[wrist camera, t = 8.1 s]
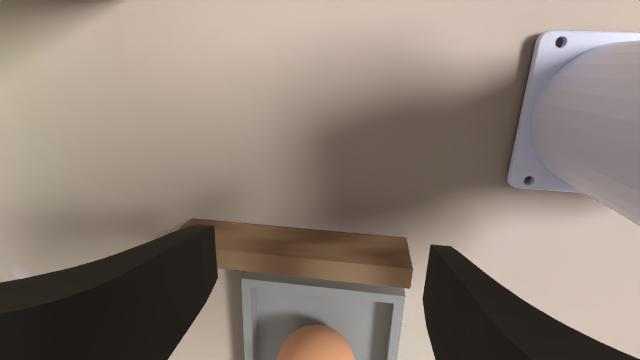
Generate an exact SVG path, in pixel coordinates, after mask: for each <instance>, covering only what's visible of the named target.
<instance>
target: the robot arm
mask: <svg viewBox="0 0 640 360" xmlns="http://www.w3.org/2000/svg"><path fill="white" fill-rule="evenodd" d="M559 37H561V38H562V39H563V44H562V46H560V47H559V48H558V47H557V46H556V45H555V41H556V39H557V38H559ZM527 176H531V180H530V181H529V182H528V183H524V179H525V178H526V177H527ZM507 181H508V183H509V184H510V185H511V186H512V187H514V188H519V189H533V190H547V191H561V192H575V193H585V194H587V195H588V196H590V197H592V198H593V199H595V200H597V201H598V202H600V203H602V204H603V205H605V206H607V207H609V208H610V209H612V210H614V211H615V212H617V213H619V214H620V215H622V216H624V217H625V218H627V219H629V220H630V221H632V222H634V223H636V224H637V225H639V226H640V33H639V32H592V31H547V32H544V33H542V34H541V35H540V36H539V37H538V38H537V40H536V44H535V48H534V53H533V58H532V62H531V67H530V72H529V77H528V81H527V86H526V91H525V96H524V100H523V105H522V110H521V115H520V119H519V124H518V129H517V133H516V138H515V143H514V148H513V152H512V157H511V162H510V167H509V171H508V176H507ZM217 278H218V273H217V259H216V244H215V229H214V226H212V225H201V224H196V225H192V226H189V227H186V228H183V229H180V230H178V231H175V232H173V233H170V234H168V235H165V236H163V237H160V238H158V239H155V240H153V241H150V242H148V243H145V244H143V245H140V246H137V247H134V248H132V249H129V250H126V251H123V252H121V253H118V254H115V255H112V256H109V257H106V258H103V259H100V260H97V261H94V262H90V263H87V264H83V265H80V266H76V267H72V268H69V269H64V270H60V271H55V272H51V273H47V274H42V275H38V276H33V277H29V278H24V279H18V280H12V281H7V282H1V283H0V360H168V358H169V357H170V355H171V354H172V352H173V351H174V349H175V348H176V346H177V345H178V344H179V342H180V341H181V339H182V338H183V336H184V335H185V333H186V332H187V330H188V329H189V327H190V326H191V324H192V323H193V321H194V320H195V318H196V317H197V315H198V314H199V312H200V311H201V309H202V308H203V306H204V305H205V303H206V301H207V299H208V297H209V295H210V293H211V291H212V289H213V287H214V285H215V283H216V281H217ZM423 305H424V313H425V320H426V326H427V330H428V334H429V338H430V341H431V345H432V349H433V352H434V356H435V359H436V360H640V359H638V358H635V357H633V356H631V355H628V354H626V353H623V352H621V351H619V350H617V349H614V348H612V347H610V346H608V345H605V344H603V343H601V342H599V341H597V340H595V339H593V338H591V337H589V336H587V335H585V334H583V333H581V332H579V331H577V330H575V329H573V328H571V327H569V326H567V325H565V324H563V323H561V322H559V321H557V320H556V319H554V318H552V317H550V316H549V315H547V314H545V313H544V312H542V311H540V310H539V309H537V308H535V307H533V306H532V305H530V304H529V303H527V302H525V301H524V300H522V299H521V298H519V297H518V296H516V295H515V294H514V293H512V292H511V291H509V290H508V289H506V288H505V287H503V286H502V285H501V284H499V283H498V282H497V281H495V280H494V279H493V278H491V277H490V276H489V275H487V274H486V273H485V272H483V271H482V270H481V269H480V268H478V267H477V266H476V265H475V264H473V263H472V262H471V261H470V260H468V259H467V258H466V257H464V256H463V255H462V254H461V253H459V252H458V251H457V250H455V249H454V248H452V247H451V246H441V245H431V246H430V253H429V260H428V266H427V273H426V280H425V287H424V293H423Z"/></svg>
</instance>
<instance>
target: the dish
mask: <svg viewBox="0 0 640 360" xmlns="http://www.w3.org/2000/svg"><path fill="white" fill-rule="evenodd" d="M241 291H242V313H243V336H244V358H245V360H277V357H278V354H279V351H280V349H281V347H282V345H283V343H284V342H285V341H286V339H287V338H288V337H289V336H290V335H291V334H292V333H293V332H295V331H296V330H298V329H300V328H302V327H304V326H307V325H315V324H316V325H324V326H328V327H331V328H333V329H334V330H336V331H337V332H339V333H340V334H341V335H342V336H343V337H344V338H345V339H346V340H347V342H348V343H349V345H350V347H351V349H352V351H353V354H354V357H355V360H397V356H398V348H399V340H400V332H401V325H402V317H403V309H404V302H405V292H404V288H399V287H390V286H380V285H371V284H361V283H352V282H343V281H333V280H324V279H315V278H305V277H296V276H287V275H277V274H268V273H259V272H249V271H245V273H244V274H243V276H242V277H241Z"/></svg>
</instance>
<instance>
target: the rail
mask: <svg viewBox="0 0 640 360" xmlns="http://www.w3.org/2000/svg"><path fill="white" fill-rule="evenodd" d="M196 224H201V225H212V226H214V229H215V244H216V259H217V268H221V269H231V270H240V271H249V272H259V273H268V274H277V275H287V276H296V277H305V278H315V279H324V280H333V281H343V282H352V283H361V284H371V285H380V286H390V287H399V288H408V289H410V286H411V279H412V271H413V268H412V263H411V259H410V254H409V249H408V244H407V240H406V238H399V237H388V236H377V235H366V234H355V233H344V232H333V231H322V230H311V229H299V228H288V227H277V226H266V225H255V224H244V223H233V222H222V221H211V220H200V219H191V220H189V221H188V222H187V223H186V224H185V225H184V226H182V227H181V228H180V229H183V228H186V227H189V226H192V225H196ZM180 229H179V230H180Z"/></svg>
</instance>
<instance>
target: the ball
mask: <svg viewBox="0 0 640 360" xmlns="http://www.w3.org/2000/svg"><path fill="white" fill-rule="evenodd" d="M277 360H355V357H354V354H353V351H352V349H351V347H350V345H349V343H348V342H347V340H346V339H345V338H344V337H343V336H342V335H341V334H340V333H339V332H337V331H336V330H334V329H333V328H331V327H328V326H324V325H316V324H315V325H307V326H304V327H302V328H300V329H298V330H296V331H295V332H293V333H292V334H291V335H290V336H289V337H288V338H287V339H286V341H285V342H284V343H283V345H282V347H281V349H280V351H279V354H278V357H277Z"/></svg>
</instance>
